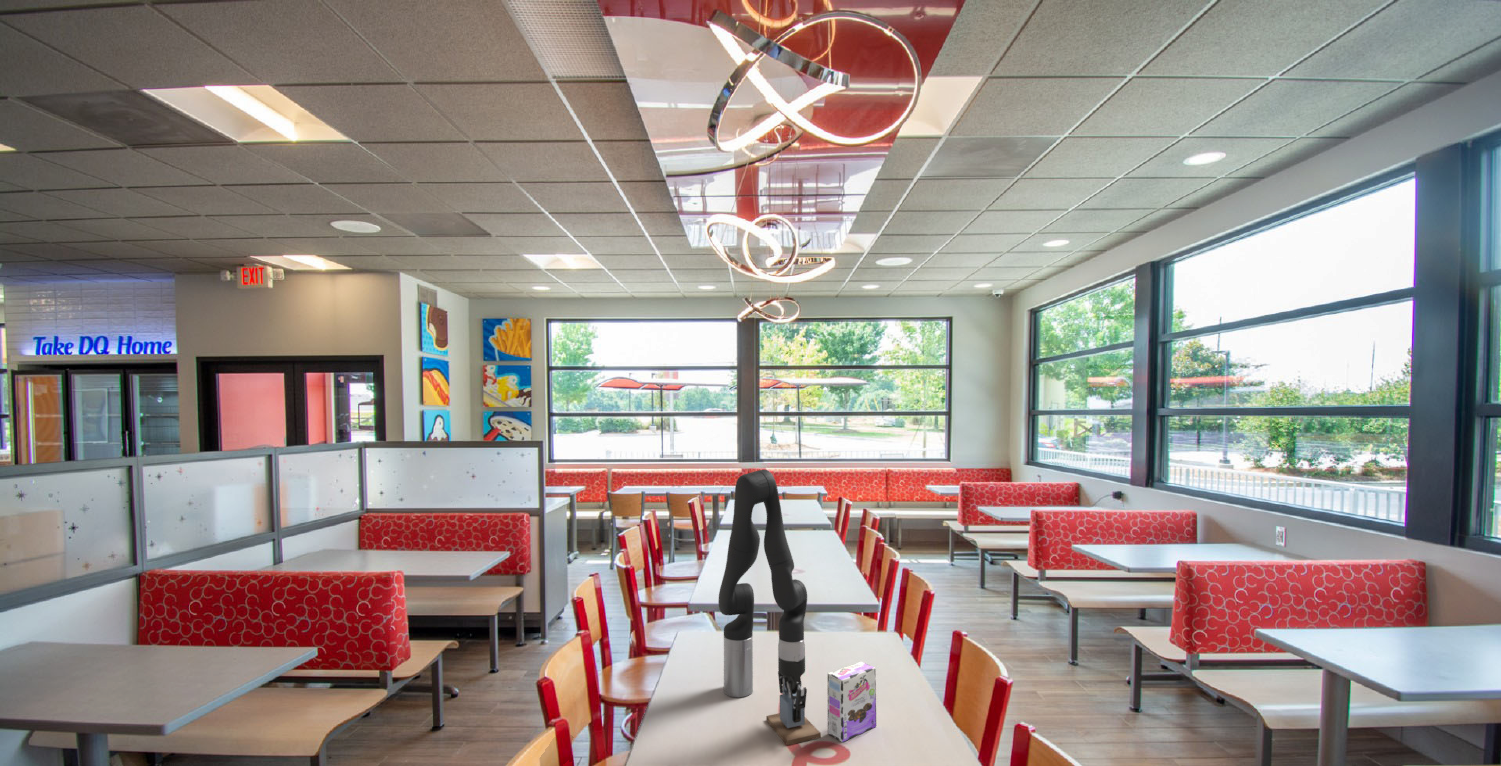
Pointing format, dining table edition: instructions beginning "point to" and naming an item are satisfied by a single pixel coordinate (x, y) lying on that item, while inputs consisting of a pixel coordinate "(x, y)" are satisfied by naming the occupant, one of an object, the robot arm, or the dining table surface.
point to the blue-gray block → (789, 712)
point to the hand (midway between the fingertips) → (792, 716)
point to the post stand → (793, 730)
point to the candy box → (851, 701)
